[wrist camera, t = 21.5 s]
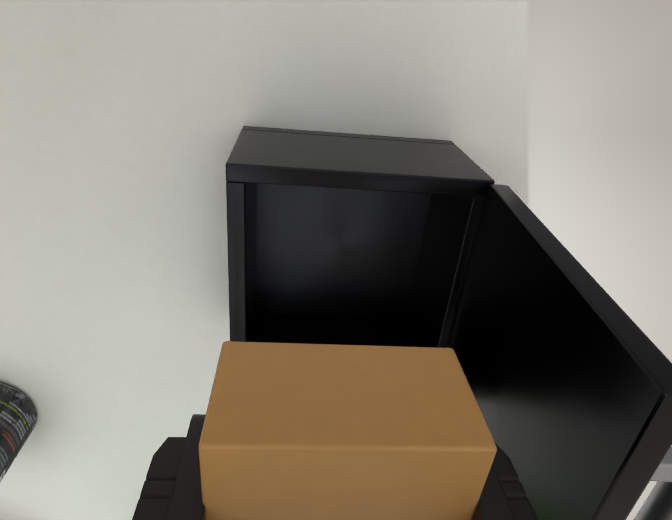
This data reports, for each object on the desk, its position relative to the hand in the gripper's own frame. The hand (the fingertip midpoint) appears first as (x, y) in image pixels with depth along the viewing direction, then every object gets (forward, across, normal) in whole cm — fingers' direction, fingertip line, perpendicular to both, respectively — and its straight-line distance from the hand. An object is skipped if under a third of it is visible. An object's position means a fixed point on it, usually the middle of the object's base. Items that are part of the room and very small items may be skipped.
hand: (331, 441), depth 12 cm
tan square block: (0, 0, 0) cm, 0 cm away
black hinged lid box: (+18, -2, +2) cm, 18 cm away
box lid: (+4, -7, +3) cm, 8 cm away
